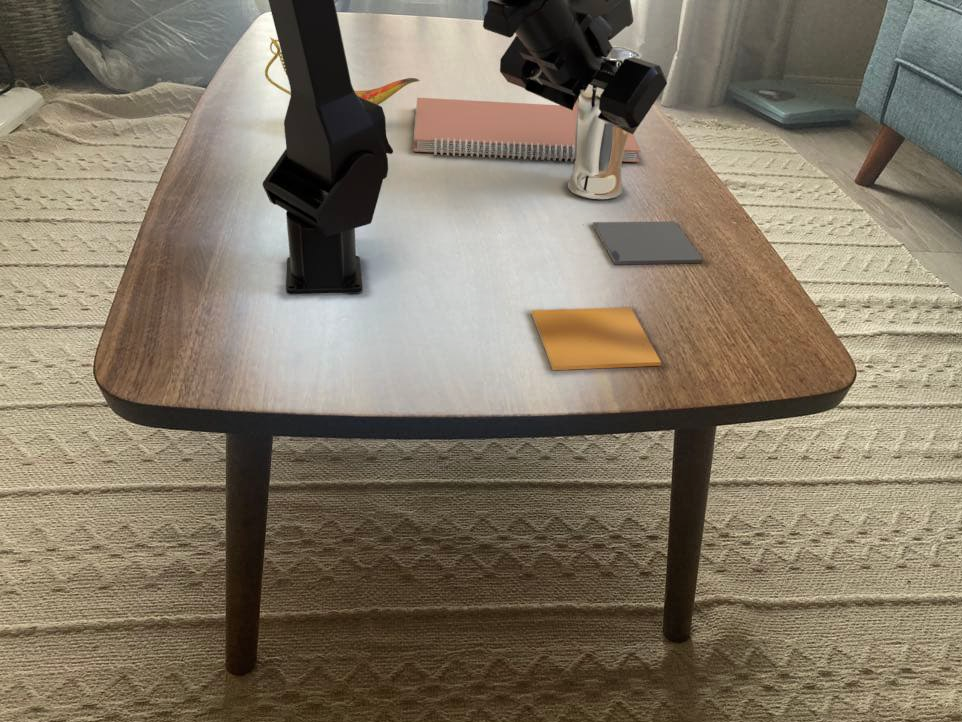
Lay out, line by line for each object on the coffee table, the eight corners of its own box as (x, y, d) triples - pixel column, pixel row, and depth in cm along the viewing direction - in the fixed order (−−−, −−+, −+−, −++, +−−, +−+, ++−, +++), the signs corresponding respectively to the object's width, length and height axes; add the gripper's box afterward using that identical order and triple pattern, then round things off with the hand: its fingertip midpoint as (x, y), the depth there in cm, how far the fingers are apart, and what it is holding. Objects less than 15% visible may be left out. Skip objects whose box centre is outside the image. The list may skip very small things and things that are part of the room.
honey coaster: (660, 365, 76) (661, 361, 75) (552, 370, 74) (553, 366, 74) (630, 311, 83) (630, 307, 83) (531, 314, 81) (531, 310, 81)
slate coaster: (702, 263, 92) (702, 259, 92) (614, 264, 90) (615, 261, 90) (674, 224, 99) (674, 221, 99) (592, 225, 97) (592, 222, 97)
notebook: (413, 156, 110) (413, 139, 108) (417, 110, 123) (417, 95, 122) (639, 167, 113) (642, 151, 111) (619, 121, 126) (621, 106, 125)
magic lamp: (421, 143, 113) (422, 50, 107) (268, 141, 110) (259, 44, 103) (417, 124, 119) (418, 34, 112) (271, 122, 115) (263, 28, 109)
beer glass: (574, 201, 102) (589, 59, 93) (556, 179, 107) (569, 43, 99) (634, 200, 103) (653, 60, 95) (613, 178, 109) (630, 44, 101)
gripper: (671, -23, 84) (719, 82, 97) (526, -60, 94) (588, 40, 107) (602, 78, 84) (660, 170, 97) (465, 30, 94) (534, 119, 107)
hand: (610, 120), depth 102 cm, fingers closed on beer glass, 7 cm apart
